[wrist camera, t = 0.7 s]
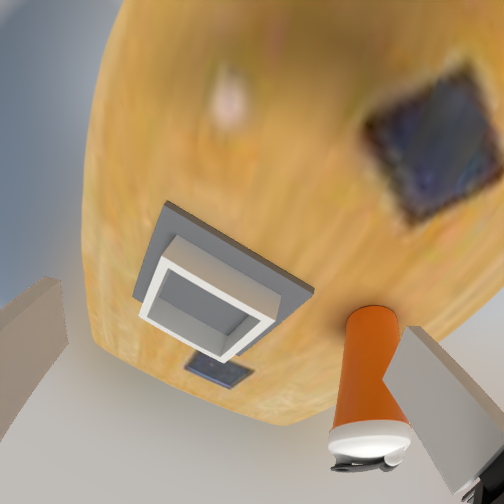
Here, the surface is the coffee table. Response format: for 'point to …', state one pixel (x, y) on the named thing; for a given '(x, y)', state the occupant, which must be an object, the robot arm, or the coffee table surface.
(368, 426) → the shaker bottle
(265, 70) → the coffee table surface
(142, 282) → the holder
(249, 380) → the coffee table surface
